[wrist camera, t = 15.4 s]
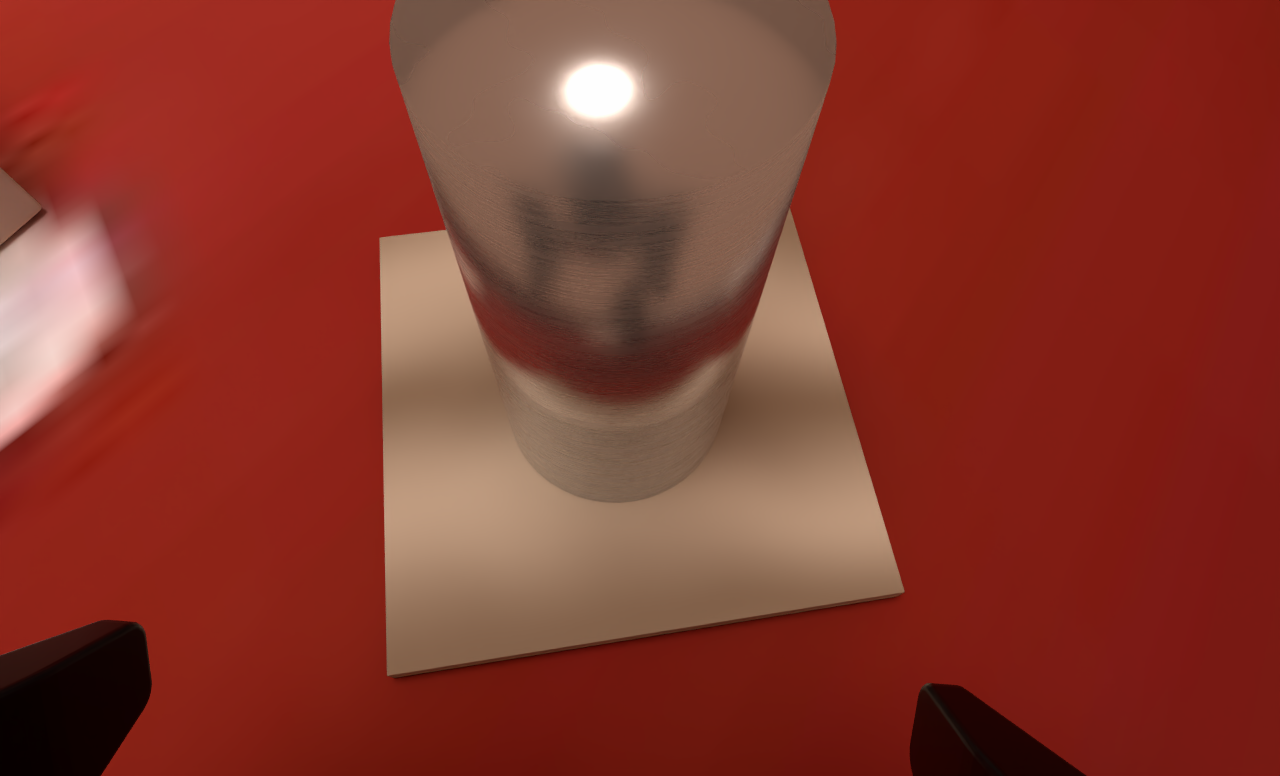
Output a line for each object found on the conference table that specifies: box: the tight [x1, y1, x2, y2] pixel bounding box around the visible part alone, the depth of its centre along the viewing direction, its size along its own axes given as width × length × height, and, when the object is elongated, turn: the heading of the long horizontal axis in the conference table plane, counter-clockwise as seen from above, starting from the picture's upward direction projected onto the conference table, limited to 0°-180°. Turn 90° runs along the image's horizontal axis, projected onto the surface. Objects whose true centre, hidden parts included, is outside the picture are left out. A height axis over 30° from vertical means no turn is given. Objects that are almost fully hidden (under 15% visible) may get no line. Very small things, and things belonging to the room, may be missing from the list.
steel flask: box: [389, 0, 836, 503], centre depth 16 cm, size 6×6×12 cm
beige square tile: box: [380, 208, 904, 678], centre depth 22 cm, size 13×13×1 cm
